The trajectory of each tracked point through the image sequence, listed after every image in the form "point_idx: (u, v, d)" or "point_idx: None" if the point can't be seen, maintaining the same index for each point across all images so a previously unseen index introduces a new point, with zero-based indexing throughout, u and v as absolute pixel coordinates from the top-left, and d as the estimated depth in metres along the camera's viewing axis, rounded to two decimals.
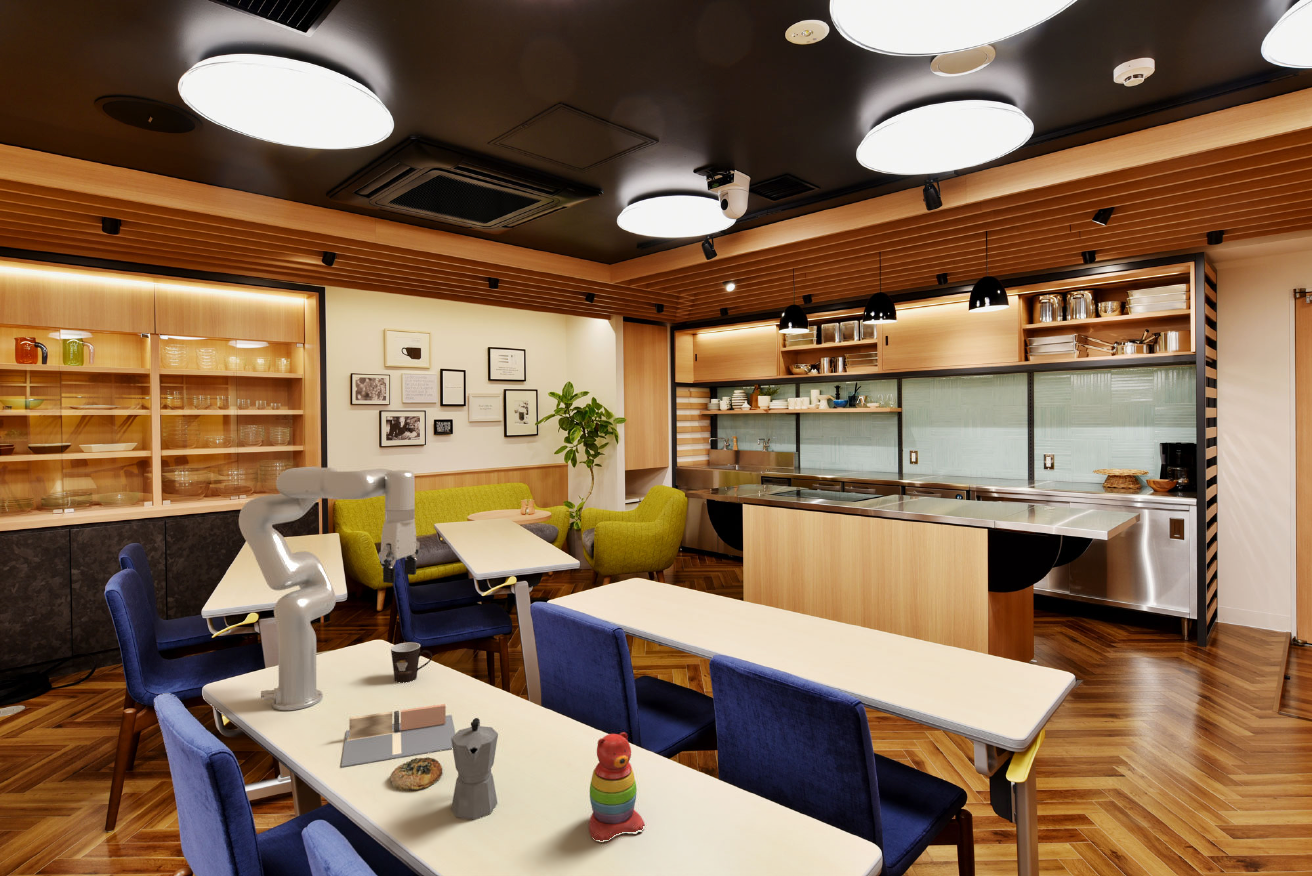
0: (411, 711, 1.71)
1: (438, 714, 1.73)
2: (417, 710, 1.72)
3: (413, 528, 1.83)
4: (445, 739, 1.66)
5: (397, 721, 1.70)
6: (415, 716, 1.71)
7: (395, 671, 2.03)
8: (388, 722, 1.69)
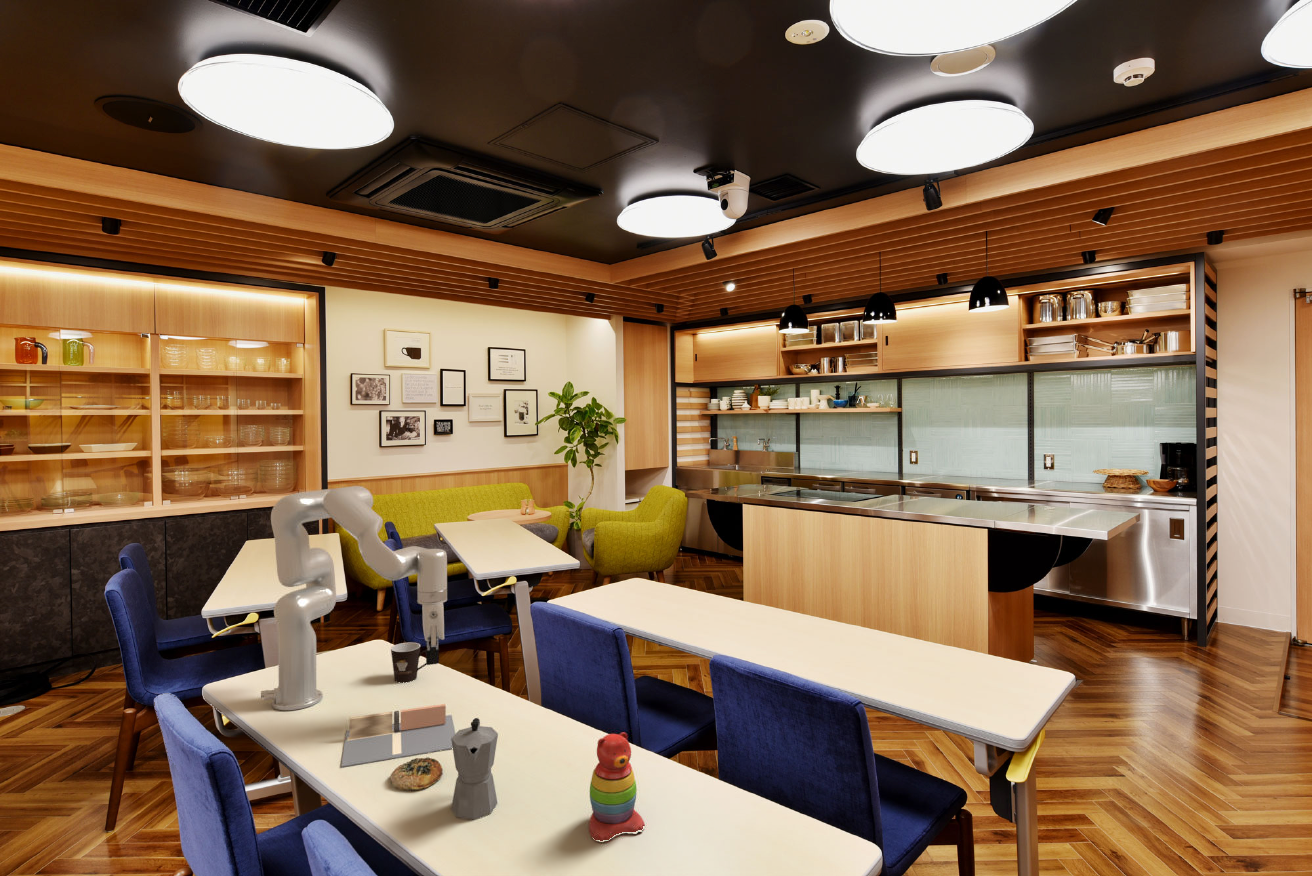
0: (411, 711, 1.71)
1: (438, 714, 1.73)
2: (417, 710, 1.72)
3: (423, 613, 1.74)
4: (445, 739, 1.66)
5: (397, 721, 1.70)
6: (415, 716, 1.71)
7: (395, 671, 2.03)
8: (388, 722, 1.69)
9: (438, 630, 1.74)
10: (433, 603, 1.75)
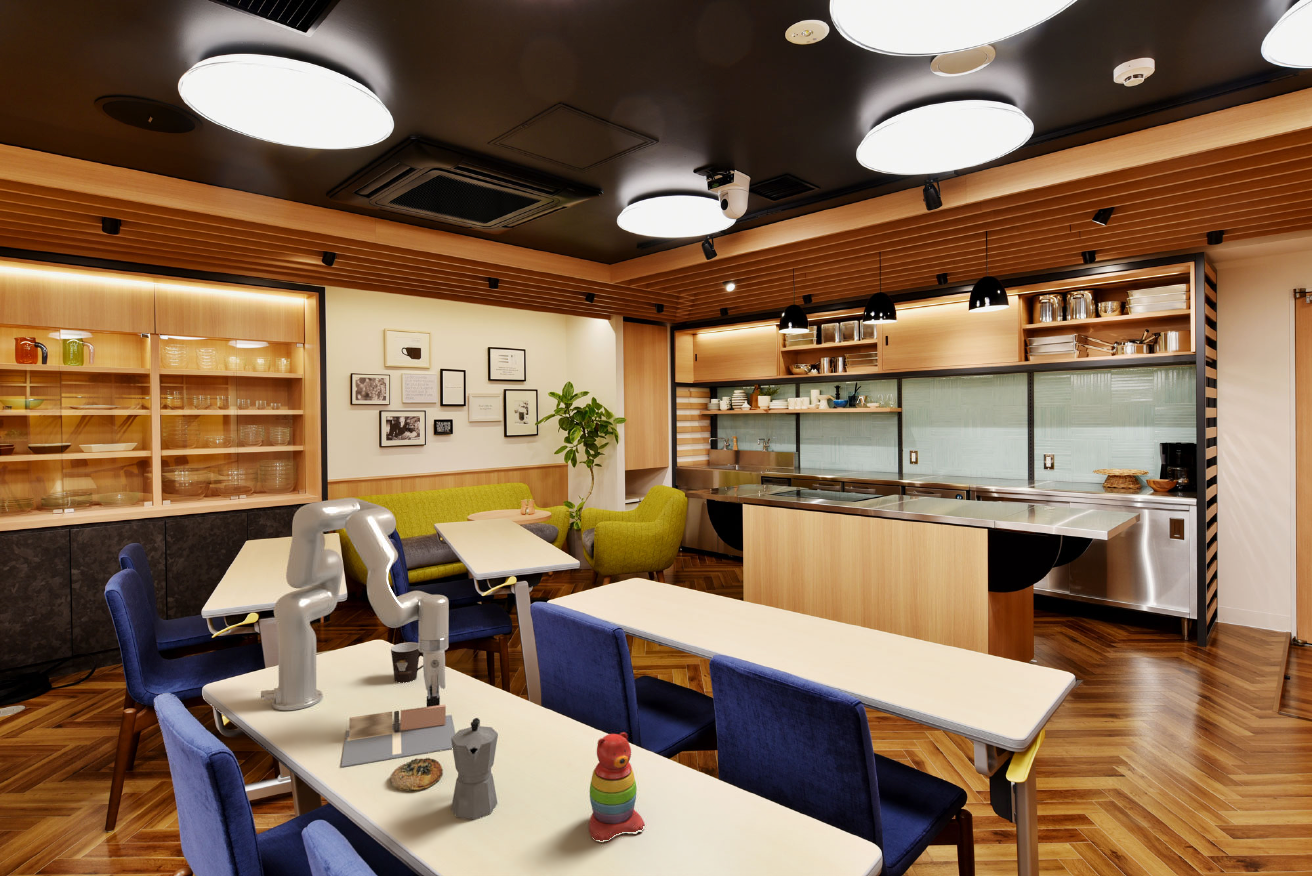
0: (411, 711, 1.71)
1: (438, 715, 1.73)
2: (417, 710, 1.71)
3: (425, 661, 1.72)
4: (445, 739, 1.66)
5: (397, 721, 1.70)
6: (414, 716, 1.71)
7: (395, 671, 2.03)
8: (388, 722, 1.69)
9: (439, 679, 1.71)
10: (434, 651, 1.72)
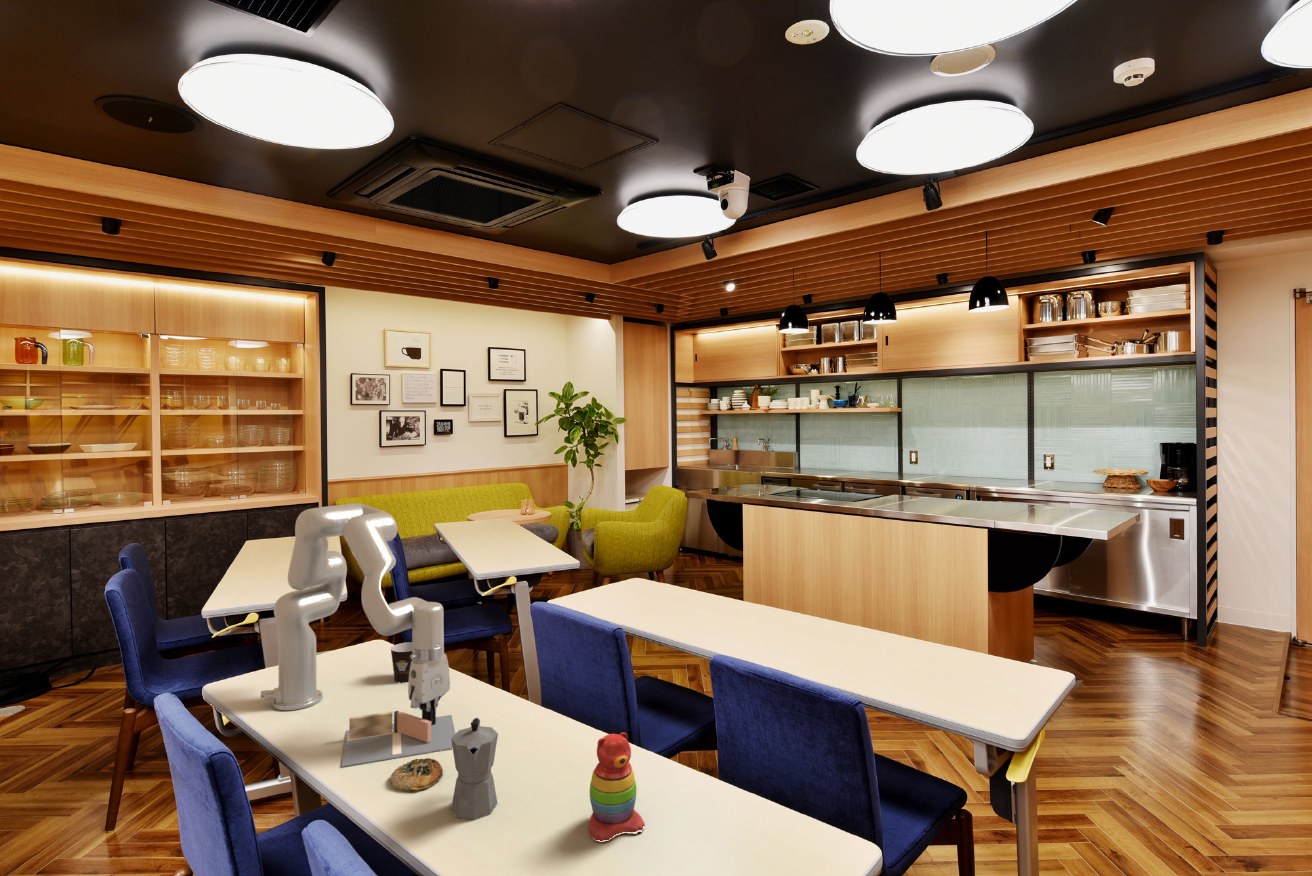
0: (404, 716, 1.68)
1: (422, 729, 1.65)
2: (408, 717, 1.67)
3: None
4: (445, 739, 1.66)
5: None
6: (406, 722, 1.67)
7: (395, 671, 2.03)
8: (388, 722, 1.69)
9: (416, 692, 1.63)
10: (417, 661, 1.64)
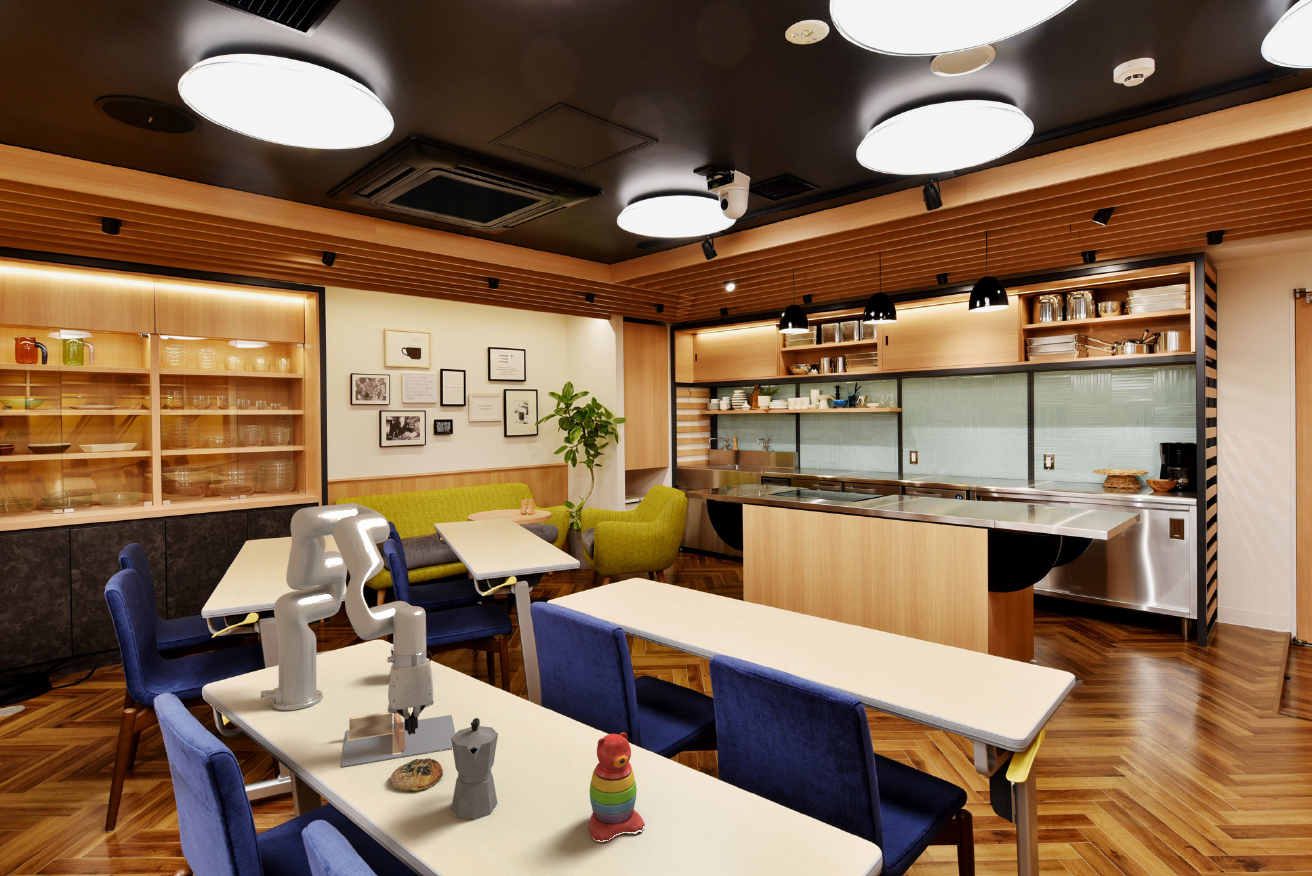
0: (395, 718, 1.67)
1: (398, 737, 1.61)
2: (396, 721, 1.65)
3: None
4: (445, 739, 1.66)
5: None
6: (396, 725, 1.66)
7: None
8: (388, 722, 1.69)
9: (389, 696, 1.60)
10: (394, 665, 1.61)
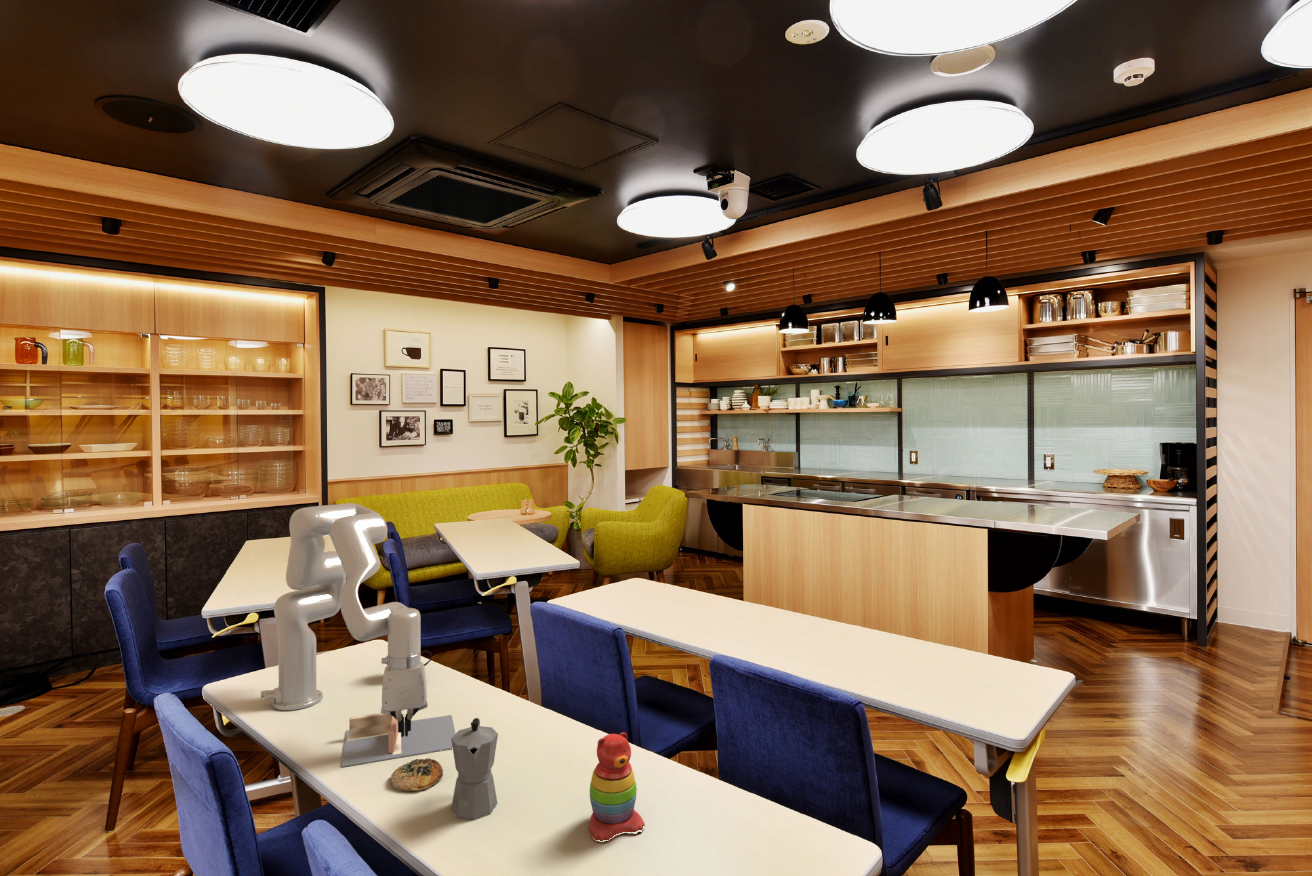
0: None
1: None
2: (392, 721, 1.65)
3: None
4: (445, 739, 1.66)
5: None
6: None
7: None
8: (388, 722, 1.69)
9: None
10: (388, 667, 1.61)
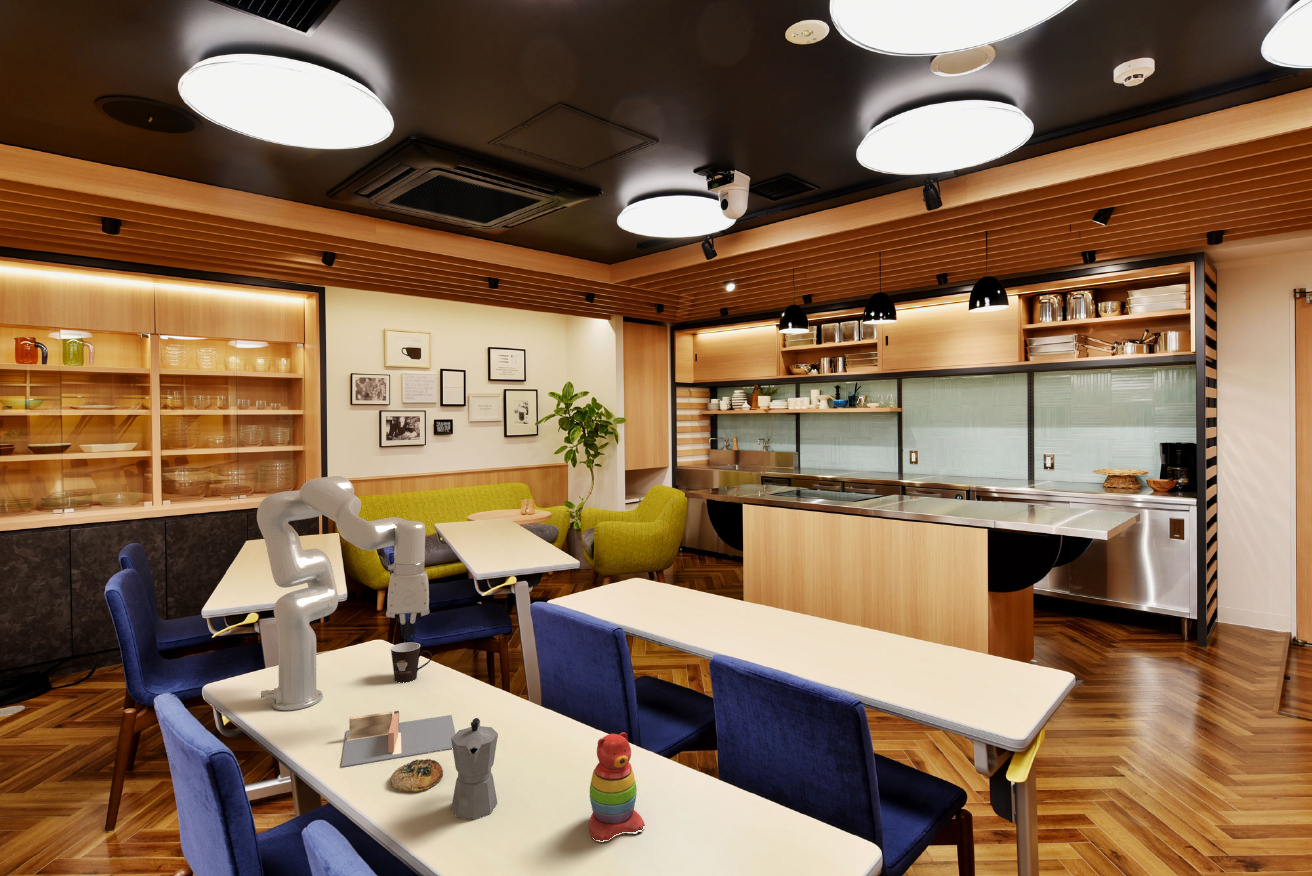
0: None
1: None
2: (392, 721, 1.65)
3: None
4: (445, 739, 1.66)
5: None
6: None
7: (395, 671, 2.03)
8: (388, 722, 1.69)
9: (387, 601, 1.71)
10: (394, 573, 1.73)
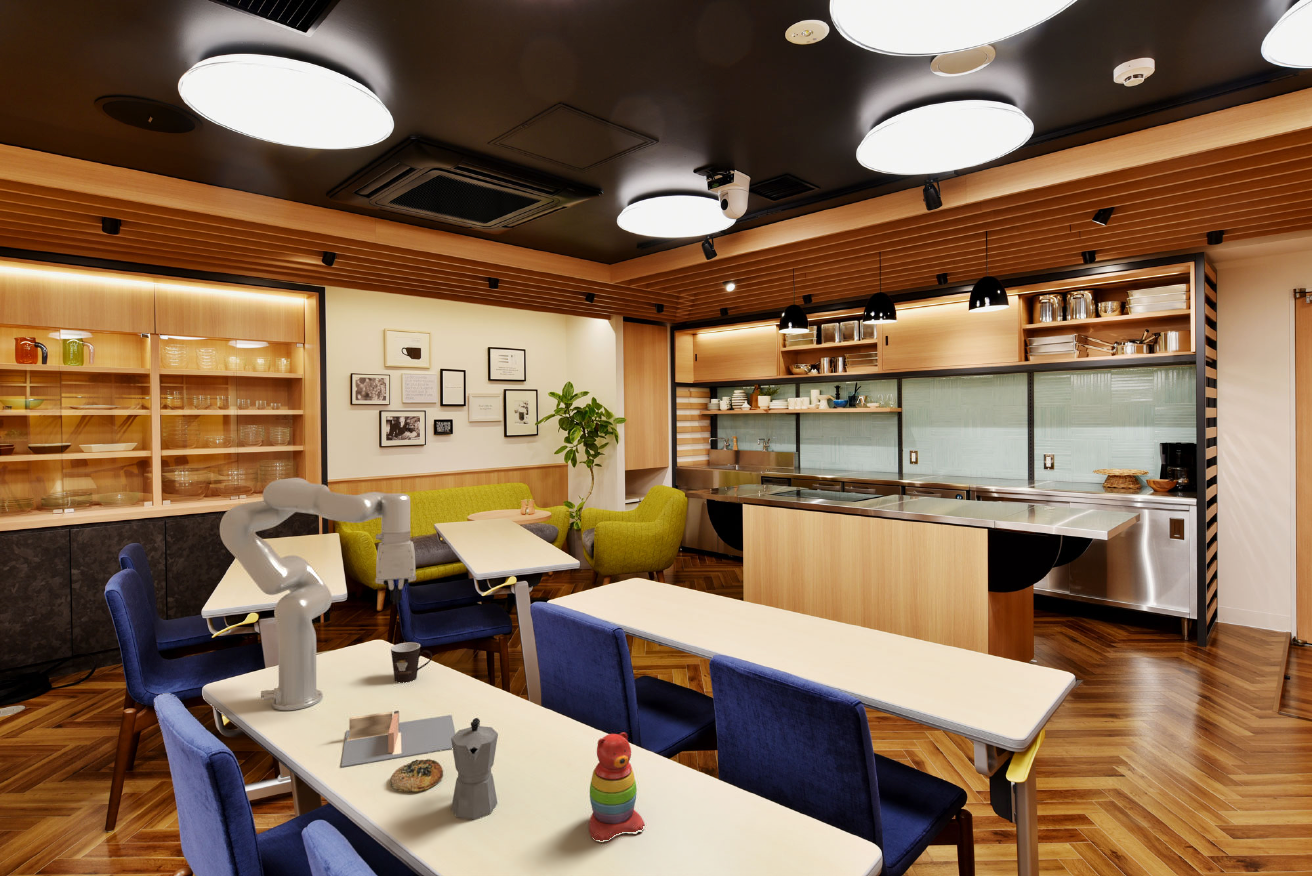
0: None
1: None
2: (392, 721, 1.65)
3: None
4: (445, 739, 1.66)
5: None
6: None
7: (395, 671, 2.03)
8: (388, 722, 1.69)
9: (376, 568, 1.83)
10: (381, 542, 1.84)
